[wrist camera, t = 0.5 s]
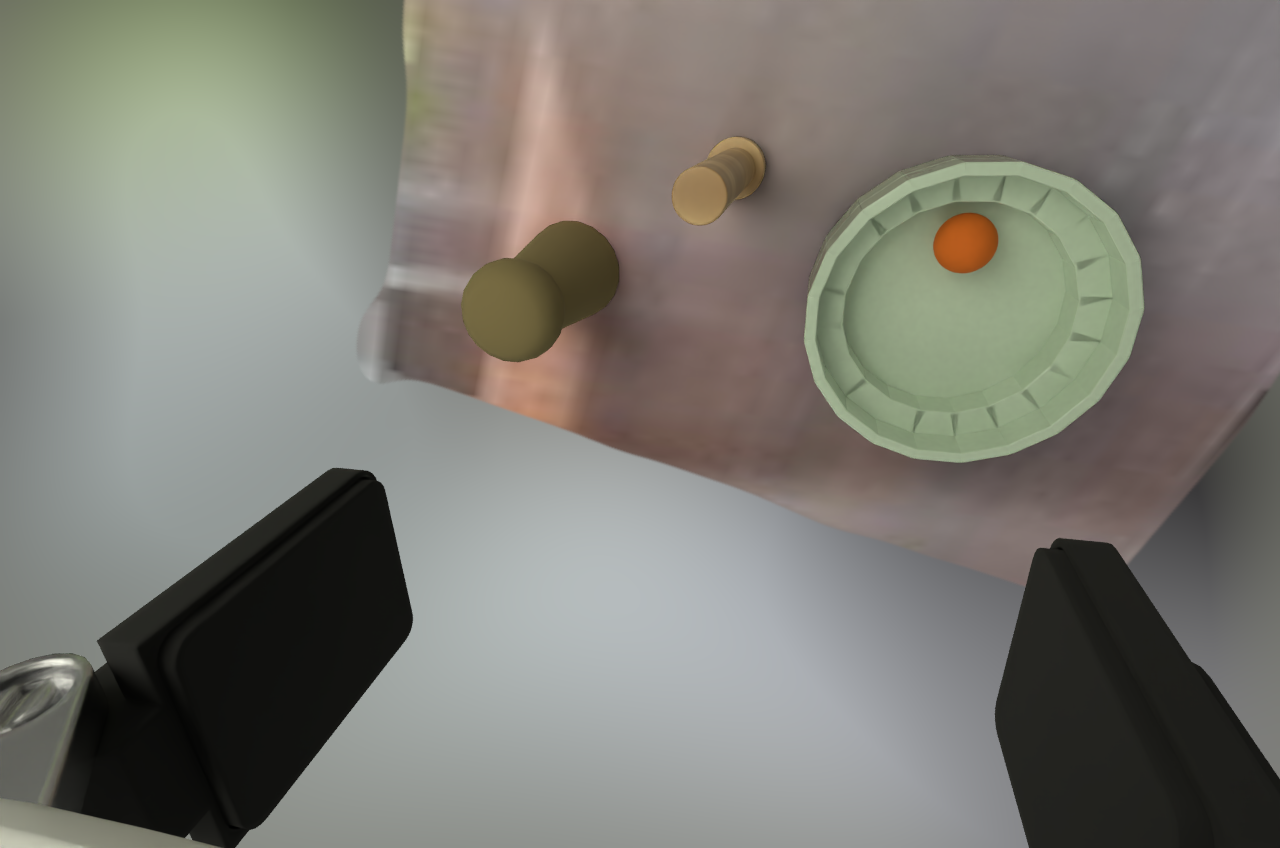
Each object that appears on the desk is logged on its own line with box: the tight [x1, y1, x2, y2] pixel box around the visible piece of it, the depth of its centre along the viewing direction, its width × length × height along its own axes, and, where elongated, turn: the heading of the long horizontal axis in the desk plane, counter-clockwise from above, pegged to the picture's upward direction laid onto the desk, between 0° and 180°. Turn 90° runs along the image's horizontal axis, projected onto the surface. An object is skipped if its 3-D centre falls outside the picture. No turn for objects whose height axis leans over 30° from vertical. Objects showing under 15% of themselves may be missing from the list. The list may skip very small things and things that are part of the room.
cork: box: [461, 221, 619, 362], centre depth 37 cm, size 6×6×11 cm
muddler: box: [672, 136, 766, 225], centre depth 32 cm, size 3×3×13 cm
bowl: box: [804, 155, 1144, 463], centre depth 36 cm, size 15×15×5 cm
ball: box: [933, 213, 998, 273], centre depth 34 cm, size 3×3×3 cm
